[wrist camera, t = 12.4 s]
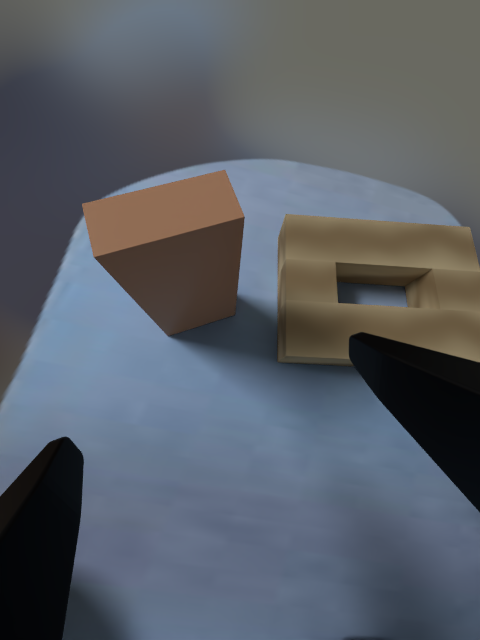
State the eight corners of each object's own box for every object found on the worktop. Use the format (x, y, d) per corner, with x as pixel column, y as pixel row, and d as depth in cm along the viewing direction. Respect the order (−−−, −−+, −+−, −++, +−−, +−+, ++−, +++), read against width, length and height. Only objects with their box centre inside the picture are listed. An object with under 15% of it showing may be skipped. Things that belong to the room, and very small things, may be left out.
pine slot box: (462, 372, 23) (503, 367, 19) (277, 362, 22) (286, 355, 19) (438, 249, 26) (469, 227, 23) (278, 238, 26) (285, 213, 22)
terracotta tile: (235, 314, 23) (244, 216, 11) (168, 336, 22) (93, 257, 10) (226, 289, 24) (224, 169, 11) (160, 309, 23) (82, 204, 10)
